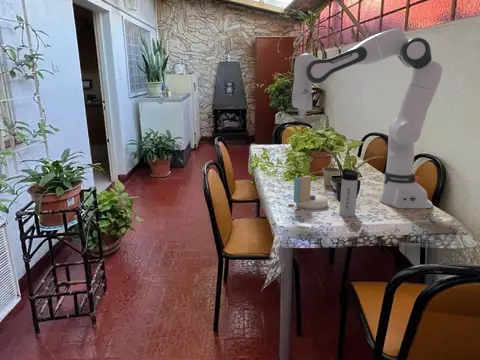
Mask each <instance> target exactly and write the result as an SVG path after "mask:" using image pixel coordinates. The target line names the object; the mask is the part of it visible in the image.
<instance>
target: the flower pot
mask: <svg viewBox="0 0 480 360" xmlns="http://www.w3.org/2000/svg"><path fill="white" fill-rule="evenodd" d="M321 170H322V172H323V182H324V183H323V184H324V185H325V186H328V187H332V186H331V176H332V175H338V176H339V174H340V171H339V168H337V167H332V166H331V167H323V168H322V169H321Z"/></svg>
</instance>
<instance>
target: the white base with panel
mask: <svg viewBox="0 0 480 360" xmlns="http://www.w3.org/2000/svg"><path fill="white" fill-rule="evenodd" d="M311 185H312V176H311V175H305V176H298V177H294V182H293V203H294V204H295V205H296V206H297V207H298V208H299V207H300V208H301V209H307V210H323V209H326V208H327V207H328V205H329V203H328V201H329V199H328V198H327V197H326V196H324V195H320V194H316V193H315V194H314V193H311Z"/></svg>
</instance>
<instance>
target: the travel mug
mask: <svg viewBox="0 0 480 360" xmlns="http://www.w3.org/2000/svg"><path fill="white" fill-rule="evenodd" d="M341 174H342V176H341V177H342V178H341V187H340V201H339V213H338V214H339V215H340V216H343V217H354V216H355V215H356V206H357V205H356V203H357V194H358V184H359V183H358V181H359V178H358V177H359V172H358V171H357V170H353V169H348V168H343V169H342V173H341Z"/></svg>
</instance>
